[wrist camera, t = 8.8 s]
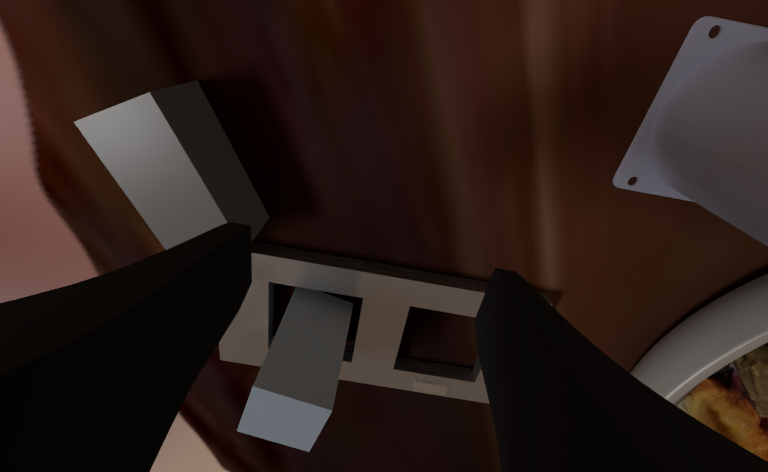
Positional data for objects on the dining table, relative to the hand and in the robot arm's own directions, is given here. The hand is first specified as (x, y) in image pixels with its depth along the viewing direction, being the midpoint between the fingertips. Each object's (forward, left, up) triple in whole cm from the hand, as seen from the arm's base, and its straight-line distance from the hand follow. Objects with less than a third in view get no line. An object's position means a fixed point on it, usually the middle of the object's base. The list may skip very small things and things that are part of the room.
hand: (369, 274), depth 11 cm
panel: (-1, +12, -10) cm, 15 cm away
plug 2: (+3, +12, -10) cm, 16 cm away
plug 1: (+10, +2, -10) cm, 15 cm away
